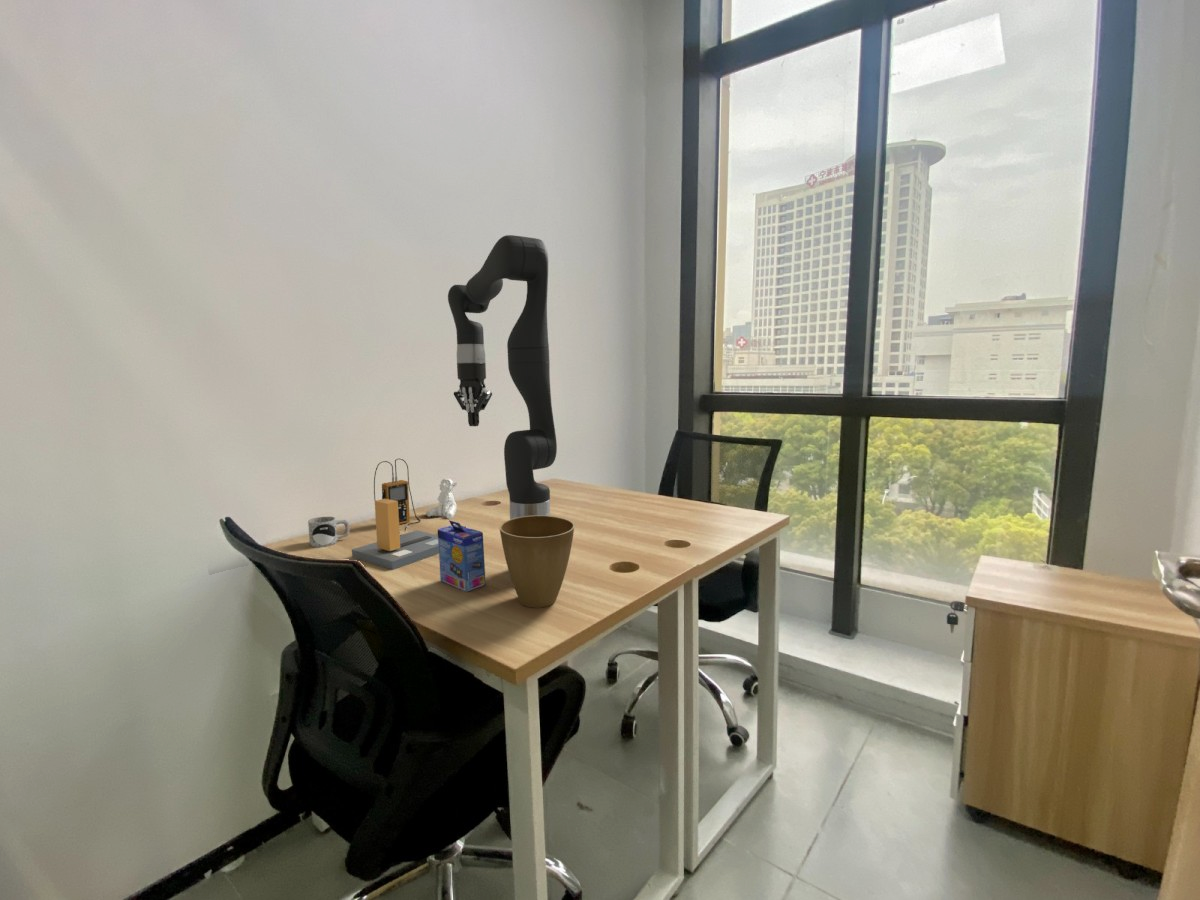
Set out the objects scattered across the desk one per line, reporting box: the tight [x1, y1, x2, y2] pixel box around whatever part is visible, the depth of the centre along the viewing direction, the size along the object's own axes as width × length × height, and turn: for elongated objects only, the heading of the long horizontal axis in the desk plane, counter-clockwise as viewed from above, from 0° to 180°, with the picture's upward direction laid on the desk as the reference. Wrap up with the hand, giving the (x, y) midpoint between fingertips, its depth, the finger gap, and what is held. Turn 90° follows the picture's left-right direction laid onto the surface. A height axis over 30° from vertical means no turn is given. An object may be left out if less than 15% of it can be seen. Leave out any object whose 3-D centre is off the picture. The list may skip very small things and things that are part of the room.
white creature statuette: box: [425, 477, 458, 520], centre depth 180 cm, size 10×9×12 cm
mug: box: [307, 516, 350, 548], centre depth 152 cm, size 10×7×7 cm
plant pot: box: [499, 515, 575, 608], centre depth 113 cm, size 15×15×16 cm
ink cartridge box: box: [437, 519, 487, 593], centre depth 122 cm, size 10×6×14 cm, turn 51°
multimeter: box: [373, 458, 421, 531], centre depth 166 cm, size 15×10×20 cm
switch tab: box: [374, 498, 401, 551], centre depth 139 cm, size 5×3×12 cm, turn 57°
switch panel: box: [351, 529, 439, 570], centre depth 144 cm, size 16×20×2 cm
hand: (473, 426), depth 152 cm, fingers closed
